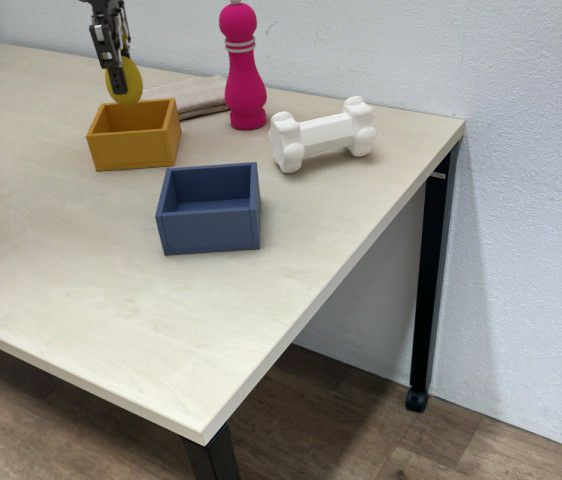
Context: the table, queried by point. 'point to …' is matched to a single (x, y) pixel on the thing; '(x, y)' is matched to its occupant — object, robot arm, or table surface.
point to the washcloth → (192, 95)
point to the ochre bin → (135, 135)
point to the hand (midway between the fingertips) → (124, 85)
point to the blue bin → (209, 209)
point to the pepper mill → (242, 67)
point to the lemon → (132, 81)
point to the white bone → (322, 134)
